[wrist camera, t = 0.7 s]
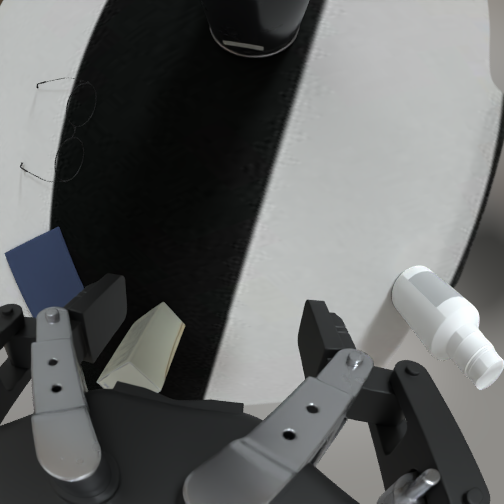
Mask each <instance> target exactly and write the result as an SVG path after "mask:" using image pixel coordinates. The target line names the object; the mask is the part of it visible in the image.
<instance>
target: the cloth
mask: <svg viewBox="0 0 504 504" xmlns="http://www.w3.org/2000/svg"><path fill="white" fill-rule="evenodd" d="M5 256H6V258H7V261H8V263H9V266H10V268H11V271H12V273H13V276H14V278H15V280H16V283H17V285H18V287H19V289H20V292H21V294H22V296H23V298H24V300H25V302H26V304H27V306H28V308H29V310H30V312H31V314H32V316H33V318H37V315H38V313H39V312H40V311H42V310H44V309H46V308H49V307H62V308H63V307H64V306H65V305H66V304H67V303H68V302H69V301H71V300H72V299H73V298H74V297H75V296H77V294H78V293H80V292H81V291H82V290H83V289H84V287H83V285H82V283H81V280H80V278H79V276H78V273H77V271H76V269H75V266H74V264H73V262H72V259H71V257H70V254H69V252H68V249H67V246H66V244H65V241H64V238H63V236H62V233H61V230H60V227H57V228H55V229H53V230H50V231H48V232H46V233H44V234H42V235H40V236H38V237H36V238H34V239H32V240H30V241H28V242H26V243H24V244H22V245H20V246H18V247H16V248H14V249H12V250H10V251H8V252H6V253H5Z"/></svg>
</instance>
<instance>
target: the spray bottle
mask: <svg viewBox="0 0 504 504" xmlns="http://www.w3.org/2000/svg"><path fill="white" fill-rule="evenodd" d="M392 302H393V304H394V306H395V308H396V309H397V311H398V312H399V313H400V314H401V316H402V317H403V318H404V319H405V321H406V322H407V323H408V325H409V326H410V327H411V329H412V330H413V331H414V333H415V334H416V335H417V336H418V338H419V339H420V340H421V342H422V343H423V344H424V346H425V347H426V348H427V350H428V351H429V353H430V354H431V355H432V356H433V357H434V358H436V359H437V360H448V359H451V360H452V361H453V362H454V363H455V364H456V365H457V366H458V367H459V368H460V370H461V371H462V372H463V374H464V375H465V376H466V377H467V378H469V379H470V380H472V382H473V383H474V385H475V386H476V387H477V388H478V389H479V390H483V389H485V388H487V387H488V386H490V385H491V384H492V383H493V382H494V381H495V380H496V379H497V378H498V377H499V375H500V374H501V372H502V370H503V368H504V361H503V360H502V358H501V357H500V356H499V355H498V354H497V353H496V351H495V349H494V346H493V345H492V344H491V343H490V342H489V341H488V340H487V339H486V338H485V337H484V336H483V334H482V332H480V330H479V329H478V327H479V313H478V311H477V309H476V308H475V307H474V306H473V305H472V304H471V303H470V302H469V301H467V300H466V299H465V298H464V297H463V296H462V295H460V294H459V293H458V292H457V291H455V290H454V289H453V288H452V287H451V286H450V285H448V284H447V283H446V282H445V281H444V280H442V279H441V278H440V277H439V276H437V275H436V274H435V273H434V272H432V271H431V270H430V269H429V268H427V267H424V266H413V267H411V268H408V269H407V270H405V271H404V272H403V273H402V274H401V275H400V276H399V277H398V279H397V280H396V282H395V284H394V286H393V290H392Z"/></svg>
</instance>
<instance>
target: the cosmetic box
mask: <svg viewBox="0 0 504 504" xmlns="http://www.w3.org/2000/svg"><path fill="white" fill-rule="evenodd" d="M184 328H185V324H184V323H183V322H182V321H181V320H180V319H179V318H178V317H177V316H176V314H175V313H174V312H173V311H172V310H171V309H170V308H169V307H168V306H167V305H166V303H164V302H162V303H161V304H159V305H158V306H156V307H155V308H153V309H152V310H151V311H149V312H148V313H146V314H145V315H144V316H142V317H141V318H140V319H138V320H137V321H136V322H135V323H134V324H133V325H132V327H131V328H130V330H129V331H128V333H127V334H126V336H125V337H124V339H123V340H122V342H121V344H120V345H119V347H118V348H117V350H116V352H115V353H114V355H113V356H112V358H111V359H110V361H109V363H108V364H107V366H106V368H105V369H104V371H103V372H102V374H101V376H100V377H99V379H98V381H97V383H98V384H99V385H101V386H102V387H103V388H104V389H113V388H114V386H115V384H116V382H117V381H120V382H124V383H128V384H132V385H136V386H140V387H144V388H147V389H150V390H152V391H154V392H156V393H158V392H160V391H161V389H162V386H163V384H164V381H165V378H166V375H167V373H168V370H169V367H170V365H171V362H172V359H173V357H174V354H175V351H176V349H177V346H178V343H179V341H180V338H181V335H182V333H183V330H184Z"/></svg>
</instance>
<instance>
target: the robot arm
mask: <svg viewBox="0 0 504 504" xmlns="http://www.w3.org/2000/svg"><path fill="white" fill-rule="evenodd" d="M200 2H201V5H202V7H203V10H204V12H205V15H206V17H207V20H208V23H209V26H210V31H211V34H212V36H213V38H214V40H215V42H216V43H217V44H218V45H219V46H220V47H221V48H222V49H223V50H225V51H226V52H228V53H230V54H232V55H234V56H237V57H240V58H245V59H264V58H269V57H272V56H275V55H278V54H280V53H282V52H283V51H285V50H286V49H287V48H289V47H290V46H291V44H292V43H293V42H294V40H295V39H296V37H297V34H298V31H299V27H300V23H301V21H302V18H303V16H304V13H305V10H306V8H307V5H308V2H309V0H200ZM126 313H127V302H126V287H125V278H124V276H121V275H115V274H109V273H108V274H106V275H105V276H104V277H103V278H101V279H100V280H99V281H98V282H95V283H93V284H90V285H88V286H87V287H85V288H84V289H83V290H82V291H81V292H80V293H78V294H77V296H75V297H74V298H73V299H72V300H71V301H69V302H68V303H67V304H66V305H65V306H64V307H63V308H62V307H49V308H46V309H44V310H42V311H40V312H39V313H38V315H37V318H33V317H24V315H23V311H22V308H21V307H20V306H19V305H17V304H7V305H4V306H1V307H0V350H1V349H2V348H3V347H5V350H6V352H7V355H8V358H7V360H6V361H5V362H4V363H3V364H2V365H1V367H0V424H1V422H2V421H3V419H4V417H5V416H6V414H7V413H8V411H9V410H10V408H11V407H12V405H13V404H14V402H15V401H16V399H17V398H18V396H19V395H20V394H21V392H22V391H23V389H24V388H25V386H26V385H27V384H28V382H29V381H30V379H31V378H32V394H33V406H34V413H33V414H31V415H28V416H26V417H23V418H21V419H18V420H15V421H13V422H10V423H7V424H4V425H2V426H0V504H359V503H358V502H357V501H356V500H354V499H353V498H352V497H350V496H349V495H348V494H347V493H346V492H344V491H343V490H342V489H341V488H339V487H338V486H337V485H336V484H335V483H333V482H332V481H331V480H330V479H329V478H327V477H326V476H325V475H324V474H323V473H322V472H320V471H319V470H318V469H317V468H316V465H317V464H318V462H319V461H320V460H321V458H322V457H323V455H324V454H325V452H326V451H327V449H328V448H329V446H330V445H331V444H332V442H333V441H334V439H335V438H336V436H337V435H338V433H339V432H340V430H341V429H342V427H343V426H344V424H345V423H346V421H347V419H353V420H358V421H363V422H368V425H369V428H370V432H371V436H372V439H373V443H374V447H375V451H376V455H377V459H378V463H379V466H380V471H381V475H382V479H383V483H384V488H385V492H384V493H383V494H382V495H381V496H380V497H379V499H378V501H377V504H490V494H489V491H488V488H487V486H486V484H485V481H484V479H483V477H482V474H481V472H480V470H479V468H478V465H477V463H476V461H475V459H474V457H473V455H472V453H471V451H470V449H469V446H468V444H467V443H466V440H465V438H464V436H463V434H462V433H461V431H460V429H459V427H458V425H457V423H456V421H455V419H454V417H453V415H452V414H451V412H450V410H449V408H448V406H447V405H446V403H445V401H444V399H443V397H442V396H441V394H440V392H439V390H438V388H437V387H436V385H435V383H434V382H433V380H432V378H431V377H430V375H429V373H428V372H427V370H426V369H425V368H424V367H423V366H422V365H420V364H419V363H416V362H413V361H409V360H403V361H399V362H398V363H397V364H396V365H395V368H394V370H389V369H384V368H379V367H375V366H374V363H373V360H372V358H371V357H370V356H369V355H368V354H366V353H365V352H362V351H360V350H357V349H356V347H355V345H354V343H353V341H352V339H351V337H350V335H349V334H348V331H347V329H346V328H345V324H344V322H343V320H342V319H341V318H340V317H339V316H337V315H336V314H335V313H329V311H328V308H327V306H326V304H325V302H324V301H317V300H306V303H305V306H304V311H303V315H302V319H301V324H300V328H299V333H298V346H299V351H300V356H301V361H302V366H303V371H304V376H305V380H304V381H303V382H302V383H301V384H300V385H299V386H298V387H297V388H296V389H295V390H294V391H293V392H292V393H291V394H290V395H289V396H288V397H287V398H286V399H285V400H284V401H283V402H282V403H281V404H280V405H279V406H278V407H277V408H276V409H275V410H274V411H273V412H272V413H271V414H270V415H268V416H267V417H266V418H265V419H264V420H261V419H259V418H257V417H254V416H252V415H249V414H246V413H243V406H244V403H235V402H226V401H218V400H174V399H171V398H168V397H166V396H164V395H161V394H159V393H156V392H154V391H152V390H150V389H147V388H144V387H140V386H136V385H132V384H128V383H124V382H120V381H117V382H116V384H115V386H114V388H113V389H97V390H92V391H88V390H87V387H86V383H85V379H84V375H83V371H82V367H81V364H80V363H81V362H82V360H84V361H87V362H91V363H94V362H95V360H96V359H97V357H98V356H99V354H100V353H101V352H102V350H103V349H104V347H105V346H106V344H107V343H108V342H109V340H110V339H111V337H112V336H113V335H114V333H115V332H116V331H117V329H118V328H119V326H120V325H121V324H122V322H123V321H124V319H125V317H126ZM405 419H406V420H405Z"/></svg>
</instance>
